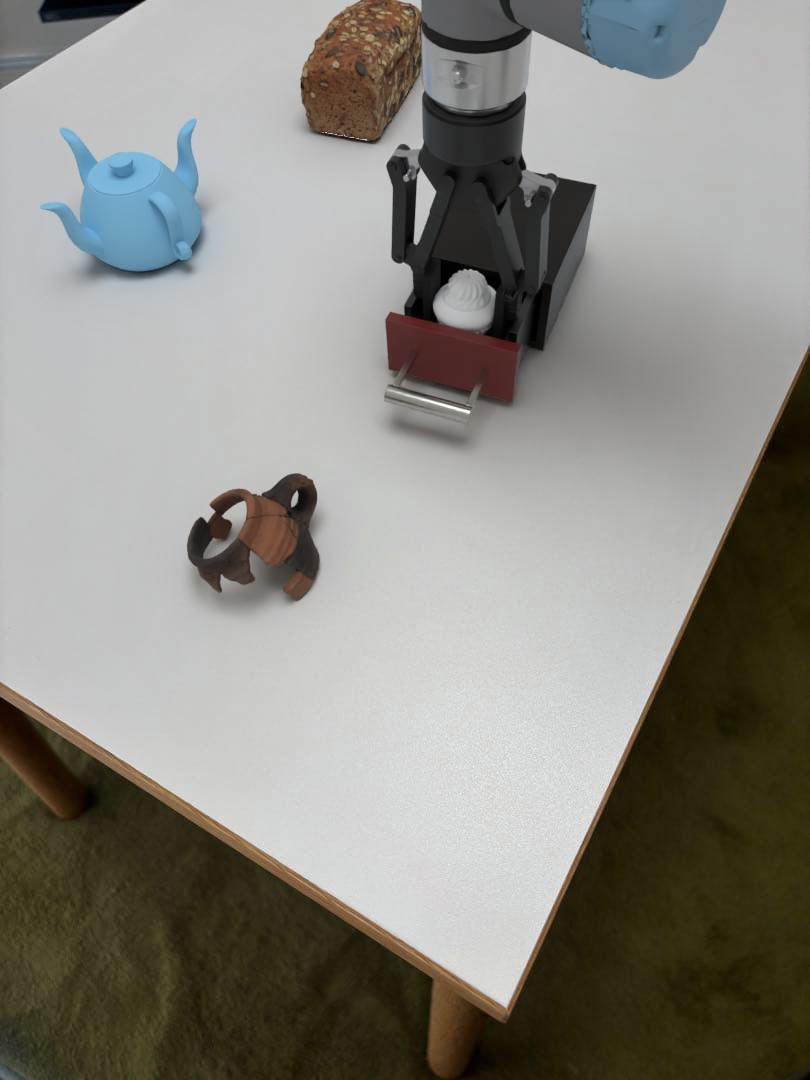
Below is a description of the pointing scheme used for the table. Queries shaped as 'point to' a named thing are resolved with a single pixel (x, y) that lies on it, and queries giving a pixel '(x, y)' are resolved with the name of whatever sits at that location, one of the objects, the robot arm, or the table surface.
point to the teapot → (134, 206)
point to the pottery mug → (261, 535)
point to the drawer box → (567, 239)
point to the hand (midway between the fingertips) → (465, 331)
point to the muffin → (466, 302)
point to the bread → (362, 68)
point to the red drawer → (456, 356)
